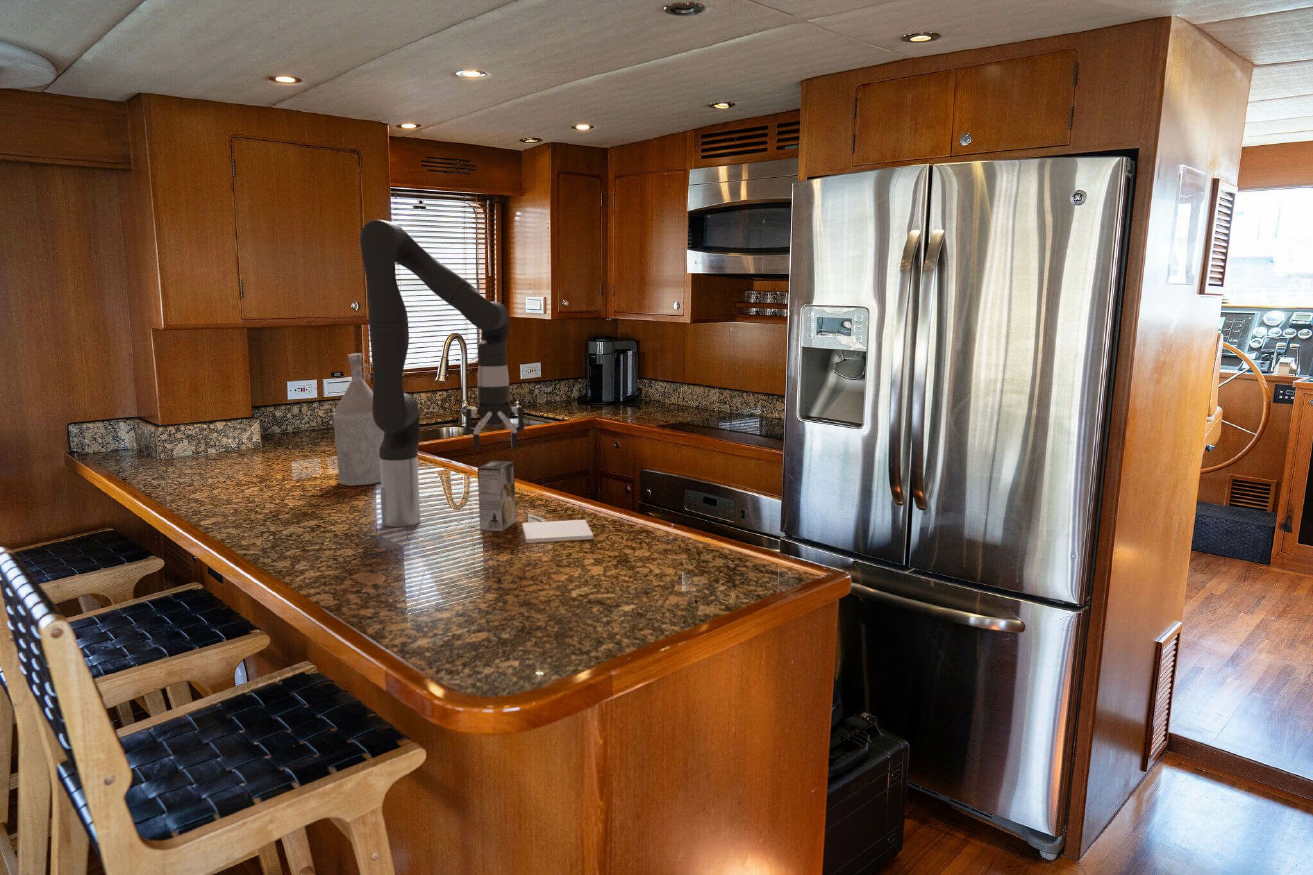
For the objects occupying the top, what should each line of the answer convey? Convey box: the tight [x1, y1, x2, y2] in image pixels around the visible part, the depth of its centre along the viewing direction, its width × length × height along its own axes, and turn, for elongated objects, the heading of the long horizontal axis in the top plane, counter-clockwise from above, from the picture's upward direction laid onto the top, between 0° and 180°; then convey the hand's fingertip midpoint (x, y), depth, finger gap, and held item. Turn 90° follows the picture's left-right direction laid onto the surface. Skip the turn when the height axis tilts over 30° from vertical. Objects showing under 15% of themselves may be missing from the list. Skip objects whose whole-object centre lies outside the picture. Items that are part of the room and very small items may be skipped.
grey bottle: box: [332, 352, 384, 487], centre depth 263 cm, size 13×17×40 cm
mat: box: [521, 519, 594, 544], centre depth 212 cm, size 16×14×1 cm
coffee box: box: [477, 460, 517, 532], centre depth 216 cm, size 9×6×16 cm
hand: (495, 448), depth 214 cm, fingers open, 8 cm apart
